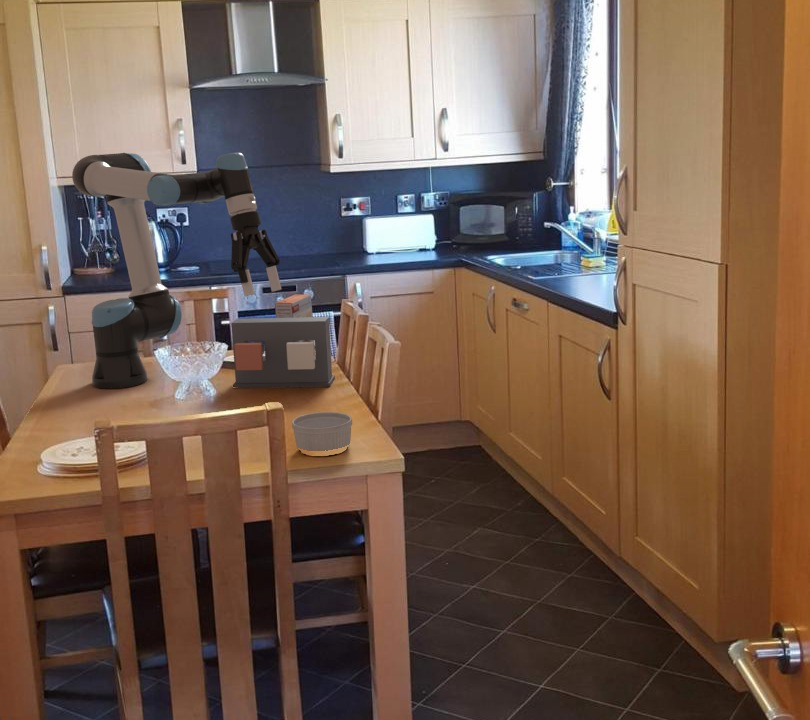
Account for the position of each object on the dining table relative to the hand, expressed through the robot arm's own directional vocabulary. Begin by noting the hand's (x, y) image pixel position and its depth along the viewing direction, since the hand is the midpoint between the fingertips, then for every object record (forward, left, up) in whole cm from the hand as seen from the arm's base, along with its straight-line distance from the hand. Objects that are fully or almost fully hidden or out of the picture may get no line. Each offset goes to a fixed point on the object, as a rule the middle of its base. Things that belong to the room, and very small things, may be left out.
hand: (263, 293), depth 262 cm
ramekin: (+51, +9, -28) cm, 59 cm away
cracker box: (-29, +9, -28) cm, 41 cm away
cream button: (-4, +10, -21) cm, 24 cm away
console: (-11, +4, -28) cm, 30 cm away
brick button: (-8, -4, -21) cm, 23 cm away
